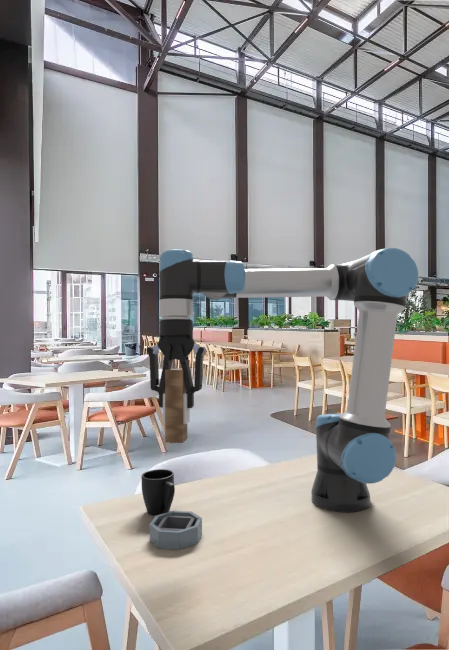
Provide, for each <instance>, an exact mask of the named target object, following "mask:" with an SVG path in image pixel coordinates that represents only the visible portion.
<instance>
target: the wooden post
mask: <svg viewBox="0 0 449 650" xmlns="http://www.w3.org/2000/svg"><path fill="white" fill-rule="evenodd" d="M185 393H186V387H185V382H184V372H183V370H182V368H171V369H169V370H165V423H164V425H165V426H164V427H165V428H164V430H165V431H164V439H165V440H164V443H172V444H173V443H174V444H183V443H185V442H186V441H187V439H188V423H187V424H183V394H185Z"/></svg>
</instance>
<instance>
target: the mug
mask: <svg viewBox="0 0 449 650" xmlns="http://www.w3.org/2000/svg"><path fill="white" fill-rule="evenodd" d="M175 489H176V488H175V473H174V471H172V470H171V469H152V470H147V471H145V472H143V473H142V474H141V492H142V498H143V501H144V505H145V508H146V511H147V514H148V515H149V516H153V517H155V516H157V515H160V514H164V513H167V512H170V509H171V506H172V503H173V500H174V496H175V494H176V492H175V491H176V490H175Z"/></svg>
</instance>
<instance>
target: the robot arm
mask: <svg viewBox="0 0 449 650" xmlns="http://www.w3.org/2000/svg"><path fill="white" fill-rule="evenodd" d="M193 255H194V254H193V253H192V251H190V250H187V249H180V248H179V249H178V248H177V249H168V250H164V251H162V253H161V254H160V257H159V272H158V273H159V274H158V275H159V318H161V319H160V321H159V339H158V341H157V344H155V345H153V346H147V348H146V352H147V355H148V358H149V379H150V380H149V382H150V390H151V391H154V392H157V393H158V407H159V408H162V424H165V370H169V369H172V365H173V362H174V361H175V360H177V361H179V363H180V366H181V369H182V370H183V372H184V382H185V387H186V393H185V394H183V424H187V425H188V423H190V421H191V419H190V416H191V415H190V410H191V409H192V408H194V406H195V401H194V399H195V393H196V392H199V391H201V390H202V389H203V373H204V372H203V371H204V370H203V368H204V365H203V364H204V356H205V353H206V350H207V349H206V347H205V346H200V345H199V344H198V345H197V343H195V340H194V325H193V324H194V322H193V320H192V319H191V318H193V315H194V313H193V312H194V309H193V308H194V301H193V299H194V298H193V297H194V296H193V295H194V294H203V295H204V297H205V298H207V299H210V300H212V301H213V300H215V301H216V300H220V299H233V298H234V299H237V298H238V299H239V298H240V299H241V298H244V299H247V298H250V299H251V298H254V299H255V298H256V299H257V298H309V297H310V298H312V297H313V298H314V297H316V298H317V297H319V298H320V297H324V298H325V297H327V299H328V300H330V301H345V302H346V301H348V302H353V305H354V306H355V308H356V309H357V310H358V319H357V320H358V321H357V327H356V336H355V341H354V350H353V357H352V358H353V359H352V366H351V373H350V374H351V375H350V381H349V389H348V397H347V398H348V399H347V407H346V409H345V410H346V411H344V412H342V413H327V414H320V415H318V416H317V417H316V421H315V423H316V424H315V432H316V434H315V435H316V436H315V437H316V439H315V440H316V461H317V462H316V463H317V464H316V465H317V467H316V469H317V470H316V475H315V477H314V479H313V480H314V481H313V483H312V484H313V485H312V487H311V494H310V495H311V502H312V503H313V504H314V505H316V506H317V507H319V508H321V509H324V510H327V511H332V512H338V513H340V512H341V513H351V512H352V513H353V512H355V513H356V512H360V511H363V510H366V509H368V508H369V507H370V506H371V494H370V493H371V492H370V490H369V487H368V485H370V484H376V483H379V482H382V481H383V480H384V479H386V478H387V477H389V476H390V474H391V473H392V472H393V470H394V468H395V466H396V463H397V462H396V461H397V452H396V449H395V446H394V445H393V442H392V441H391V440H390V435H391V429H392V428H391V427H392V425H391V423H390V422H389V421H388V420H387V418H386V408H387V401H388V392H389V383H390V375H391V368H392V362H393V361H392V359H393V352H394V343H395V336H396V327H397V320H398V316H399V315H400V313H402V312H403V311H404V310H406V304H407V296H408V295H409V294H410V293H412V291H413V290H415V288H416V286H417V284H418V281H419V270H418V266H417V263H416V262H415V261H416V260H414V259H413V258H412V257H411V255H410V254H409V253H408V252H406V251H404V250H402V249H400V248H396V247H386V248H381V249H376V250H374V251H373V252H371V253H369V254H367V255H365V256H363V257H361V258H358V259H356V260H355V259H354V260H352V261H348V262H346V263H338V264H333V263H332V264H330V265H328V267H325V268H323V267H321V268H320V267H319V268H317V267H314V268H313V267H312V268H246V267H245V264H244V263H243V262H242V261H240V260H239V261H238V260H237V261H236V260H231V259H228V260H201V259H200V260H198V259H194V256H193ZM160 351H161V353H162V355H163V360H162V361H163V364H162V369H161V374H159V373H160V371H159V354H160ZM192 351H193V353H194V355H195V359H194V381H193V376H192V372H191V371H192V370H191V367H190V358H189V355H190V354H191V352H192ZM367 484H368V485H367Z"/></svg>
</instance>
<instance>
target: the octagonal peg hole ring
mask: <svg viewBox="0 0 449 650" xmlns="http://www.w3.org/2000/svg"><path fill="white" fill-rule="evenodd" d="M202 535H203V518H202V517H201V516H199V515H198V514H196V513H194V512H193V511H187V510H184V511H183V510H171V511H169V512H167V513H164V514H160V515H157V516H154V517H153V519H152V520H151V521H150V523H149V541H150V542H151V543H152V544H154V545H155V546H156V547H157V548H158V549H164V550H179V551H180V550H182V549H185V548H187V547H191V546H194V545H197V544H198V543H199V541H200V539H201V537H202Z"/></svg>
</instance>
